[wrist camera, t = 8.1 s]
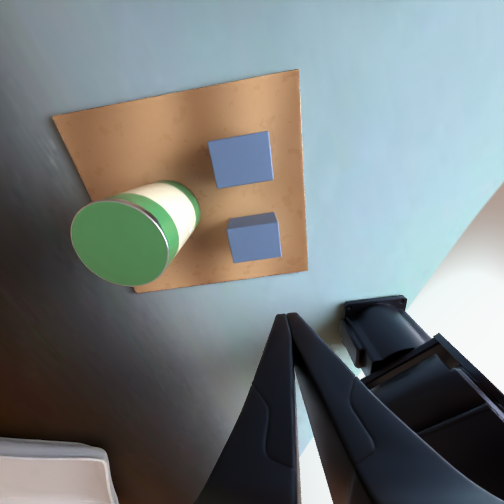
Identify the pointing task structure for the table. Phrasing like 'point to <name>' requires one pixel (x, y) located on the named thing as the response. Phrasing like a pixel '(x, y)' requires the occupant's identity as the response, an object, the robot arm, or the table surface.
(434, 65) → the table surface
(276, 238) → the blue blocks
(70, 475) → the square plate
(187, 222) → the green tin
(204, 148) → the cork mat
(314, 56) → the table surface
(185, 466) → the table surface
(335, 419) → the robot arm
